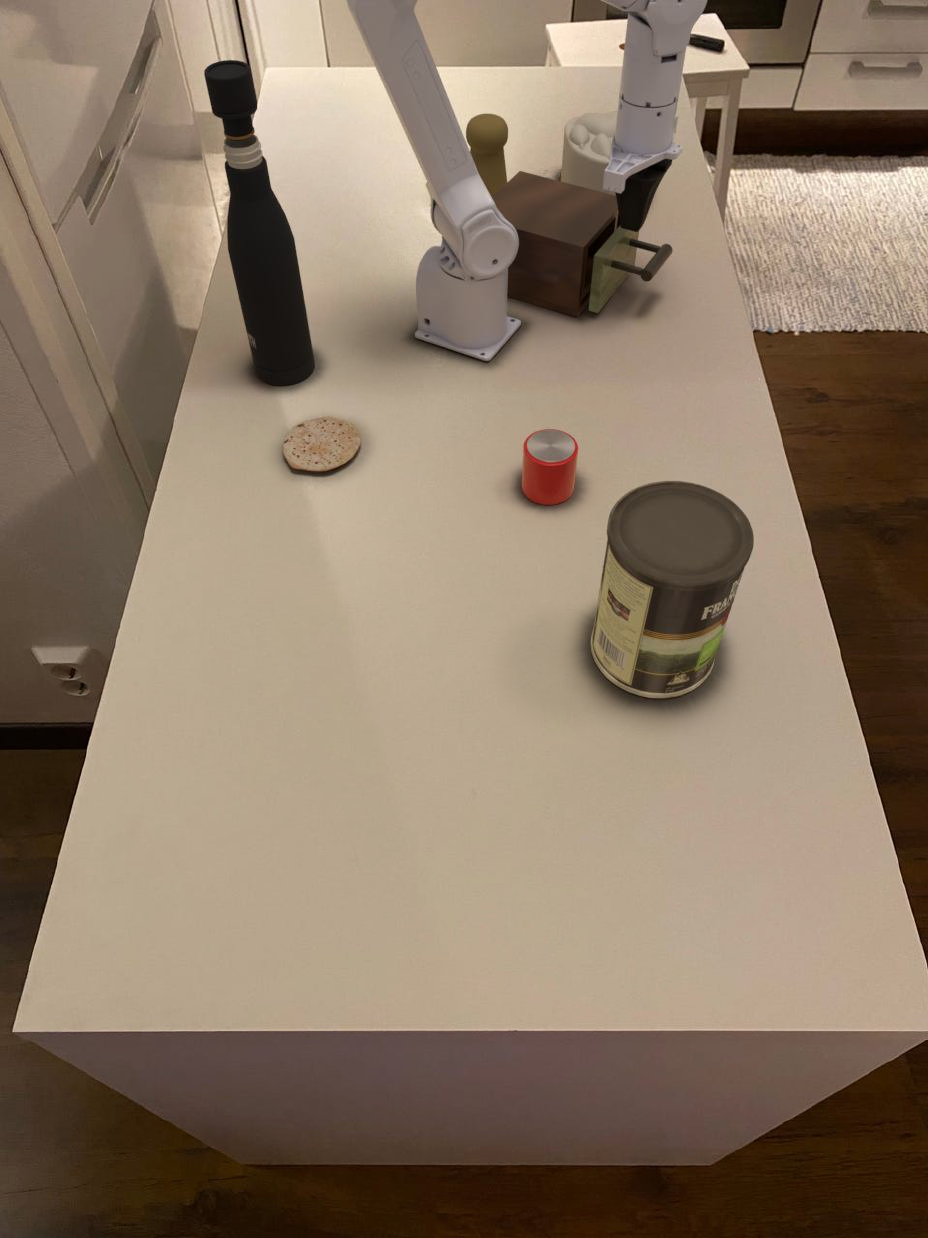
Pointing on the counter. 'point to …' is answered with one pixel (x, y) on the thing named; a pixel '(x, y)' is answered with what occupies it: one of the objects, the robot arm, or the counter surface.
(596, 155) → the lumpy-topped squat cylinder
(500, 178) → the cork
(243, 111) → the black bottle
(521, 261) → the cabinet
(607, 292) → the drawer
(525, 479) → the can
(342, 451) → the flatbread
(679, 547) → the coffee can
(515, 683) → the counter surface
